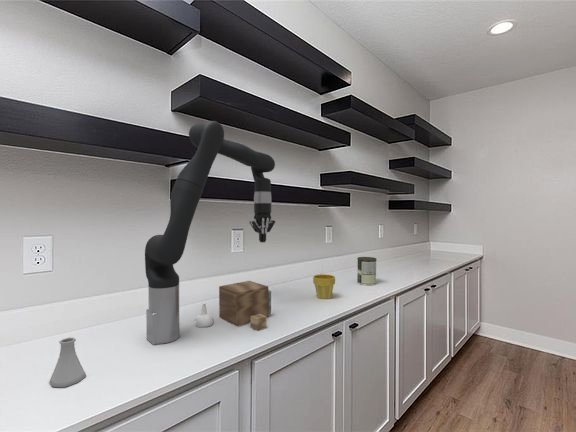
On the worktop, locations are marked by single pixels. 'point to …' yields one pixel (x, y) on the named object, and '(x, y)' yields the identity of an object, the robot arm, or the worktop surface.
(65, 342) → the flask
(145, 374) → the worktop surface
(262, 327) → the wooden block
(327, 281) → the plant pot
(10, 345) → the worktop surface
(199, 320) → the garlic bulb
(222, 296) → the housing
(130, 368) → the worktop surface
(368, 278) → the coffee can
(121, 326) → the worktop surface
